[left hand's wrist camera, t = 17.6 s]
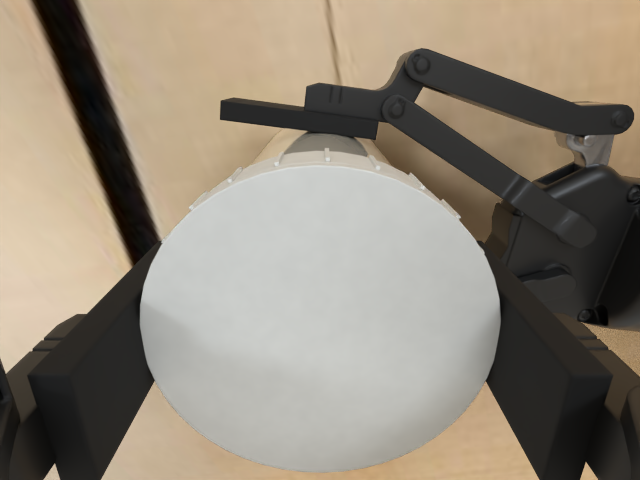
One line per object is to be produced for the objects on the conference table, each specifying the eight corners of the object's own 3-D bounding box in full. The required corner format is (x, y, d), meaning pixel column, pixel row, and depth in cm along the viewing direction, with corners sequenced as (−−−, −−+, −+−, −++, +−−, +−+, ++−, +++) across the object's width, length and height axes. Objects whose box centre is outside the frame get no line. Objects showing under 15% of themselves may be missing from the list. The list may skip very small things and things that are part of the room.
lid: (207, 438, 14) (191, 490, 12) (119, 176, 11) (80, 195, 9) (478, 406, 14) (502, 456, 12) (473, 121, 10) (505, 130, 9)
